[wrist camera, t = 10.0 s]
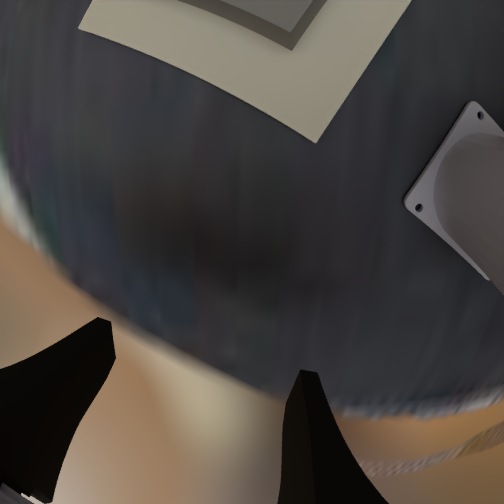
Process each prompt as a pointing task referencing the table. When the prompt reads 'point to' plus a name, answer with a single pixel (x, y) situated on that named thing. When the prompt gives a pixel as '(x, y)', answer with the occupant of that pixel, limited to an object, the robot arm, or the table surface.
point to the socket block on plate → (259, 47)
